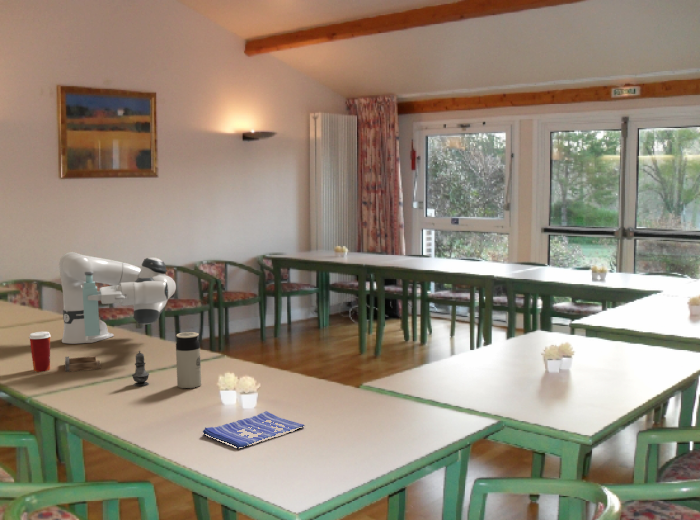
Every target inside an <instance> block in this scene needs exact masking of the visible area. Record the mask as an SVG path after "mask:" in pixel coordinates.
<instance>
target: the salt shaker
mask: <svg viewBox="0 0 700 520" xmlns="http://www.w3.org/2000/svg"><path fill="white" fill-rule="evenodd" d="M134 366H135V372H134V373H132V375H131V376H132V379H133V382H134V383H133V384H132V385H133V387H136V388H139V387H141V388H142V387H146V386H149V385H150V383H149V382H148V380H149V377H150V372H147V371H146V368H145V367H146V362H145V355H144V353H142V352H141V350H139V351H138V353H136V355H135V363H134Z"/></svg>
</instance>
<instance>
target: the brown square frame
mask: <svg viewBox="0 0 700 520" xmlns="http://www.w3.org/2000/svg"><path fill="white" fill-rule="evenodd" d="M100 361H101V360H99V359H98V360H97V359H96V355H92V356H91V355H90V356H80V357H70V356H64V370H65V373H68V372H69V373H70V371H71V372H81V371H88V370H89V371H90V370H100V369H101V363H100ZM80 370H81V371H80Z"/></svg>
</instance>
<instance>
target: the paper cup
mask: <svg viewBox="0 0 700 520" xmlns="http://www.w3.org/2000/svg"><path fill="white" fill-rule="evenodd" d="M51 335H52V334H50V332H49V331H36V332H31V333H30V334H29V337H28V339H29V343H30V353H31V358H32V367H33V371H34V372H35V371H36V372H35V373H42V372H41V371H44V372H47V370H48V371H50V369H51V337H52V336H51Z"/></svg>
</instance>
